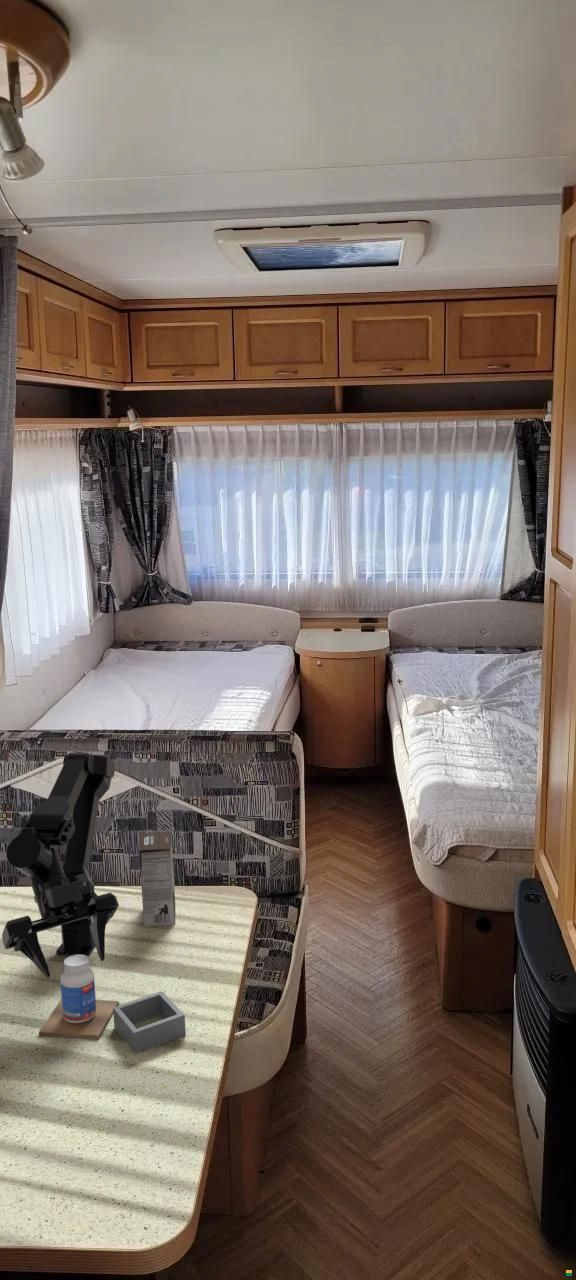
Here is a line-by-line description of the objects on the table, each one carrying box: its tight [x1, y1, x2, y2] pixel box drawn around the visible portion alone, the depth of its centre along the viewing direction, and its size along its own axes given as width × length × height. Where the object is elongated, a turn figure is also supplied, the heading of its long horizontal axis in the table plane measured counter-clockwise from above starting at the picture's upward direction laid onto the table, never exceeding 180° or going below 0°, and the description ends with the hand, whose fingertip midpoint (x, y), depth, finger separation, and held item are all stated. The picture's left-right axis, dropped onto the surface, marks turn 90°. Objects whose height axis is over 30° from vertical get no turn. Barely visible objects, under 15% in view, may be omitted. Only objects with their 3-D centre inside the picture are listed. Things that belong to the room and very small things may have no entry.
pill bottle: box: [60, 954, 97, 1023], centre depth 159 cm, size 6×5×10 cm
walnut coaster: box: [38, 998, 120, 1040], centre depth 159 cm, size 10×10×1 cm
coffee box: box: [138, 831, 176, 927], centre depth 194 cm, size 9×6×16 cm
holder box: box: [112, 990, 187, 1055], centre depth 155 cm, size 9×9×4 cm
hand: (76, 968), depth 158 cm, fingers open, 9 cm apart
